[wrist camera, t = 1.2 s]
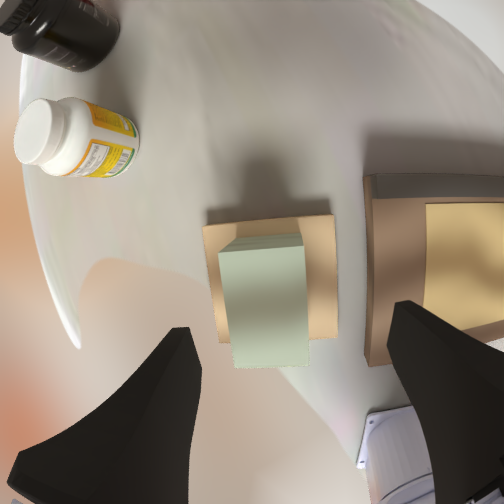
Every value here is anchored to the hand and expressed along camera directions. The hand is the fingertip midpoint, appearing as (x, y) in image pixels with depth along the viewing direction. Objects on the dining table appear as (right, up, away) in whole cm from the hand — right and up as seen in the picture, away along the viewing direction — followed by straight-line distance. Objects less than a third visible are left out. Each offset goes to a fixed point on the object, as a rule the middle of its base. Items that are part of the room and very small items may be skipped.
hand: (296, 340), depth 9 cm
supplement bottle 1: (-17, +23, +10) cm, 31 cm away
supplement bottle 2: (-13, +12, +12) cm, 21 cm away
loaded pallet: (0, +1, +12) cm, 12 cm away
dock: (+16, +2, +9) cm, 19 cm away
